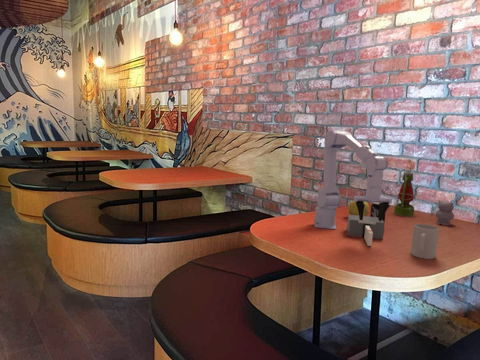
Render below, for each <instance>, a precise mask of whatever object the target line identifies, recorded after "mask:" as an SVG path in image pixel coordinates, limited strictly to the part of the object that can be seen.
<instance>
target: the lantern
mask: <svg viewBox="0 0 480 360" xmlns="http://www.w3.org/2000/svg"><path fill="white" fill-rule="evenodd" d="M409 163H410V166H412V165H413V164H412V160H410V159H409V160H408V161H407V164H406V171H405V172H403V175H402V179H401V180H402V181H403V182H402V184H401V187H400V189H399V192H397V198H398V200H399V202H400V203H397V204H395V205H394V210H393V214H394V215H396V216H400V217H414V216H415V214H414V212H415V207H414V205H412V204H410V203H411V202H412V201H413V200H414V198H415V194H414V188H413V181H414V173H413V172H412V167H408V166H409Z"/></svg>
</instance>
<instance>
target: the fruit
mask: <svg viewBox="0 0 480 360" xmlns="http://www.w3.org/2000/svg"><path fill="white" fill-rule="evenodd" d="M363 203H364V204H365V207H364V211H363V216H368V215H369V213H370V212H369V211H370V205H369V202H363ZM347 211H348V213H349V214H348V215H357V216H359V212H358V208H357V205H356V203H355V201H354V200H352V201H350V203H349V204H348V207H347Z"/></svg>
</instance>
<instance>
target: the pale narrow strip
mask: <svg viewBox="0 0 480 360" xmlns="http://www.w3.org/2000/svg"><path fill="white" fill-rule="evenodd" d="M363 235H364V237H363V238H364V240H365V243H366V246H367V247H372V245H373V238H372V237H373V232H372V230H371V228H370V226H366V225H365V233H363Z"/></svg>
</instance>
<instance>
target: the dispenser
mask: <svg viewBox="0 0 480 360" xmlns="http://www.w3.org/2000/svg"><path fill="white" fill-rule="evenodd" d="M347 216H348V217H347V225H346V226H347V227H346V232H347V235H348V236H350V237H359V238H362V237H363V234H365V225H366V226H370V228H371V230H372V232H373V237H372V239H377V240H384V232H385V223H386V222H385V223H384V221H383V220H382V221H379V220H378V217H370V216H368V215H367V216H363V220H360V219H359V216H357V215H350V214H348V215H347Z"/></svg>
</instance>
